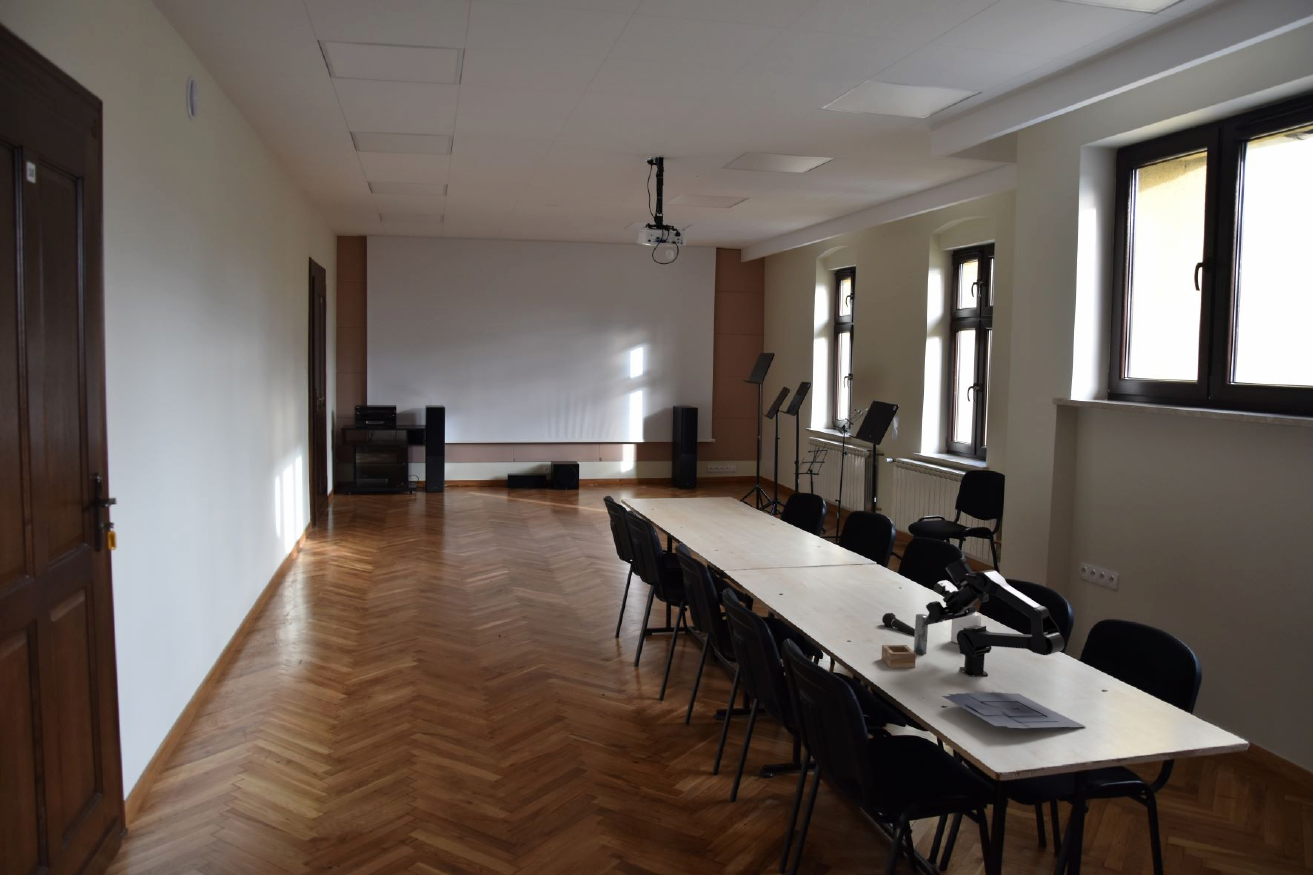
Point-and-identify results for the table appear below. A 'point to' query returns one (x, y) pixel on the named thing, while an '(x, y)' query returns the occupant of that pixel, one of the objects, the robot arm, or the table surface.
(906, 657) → the socket block
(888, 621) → the microphone
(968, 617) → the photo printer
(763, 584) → the table surface
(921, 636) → the pin
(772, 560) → the table surface
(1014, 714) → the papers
